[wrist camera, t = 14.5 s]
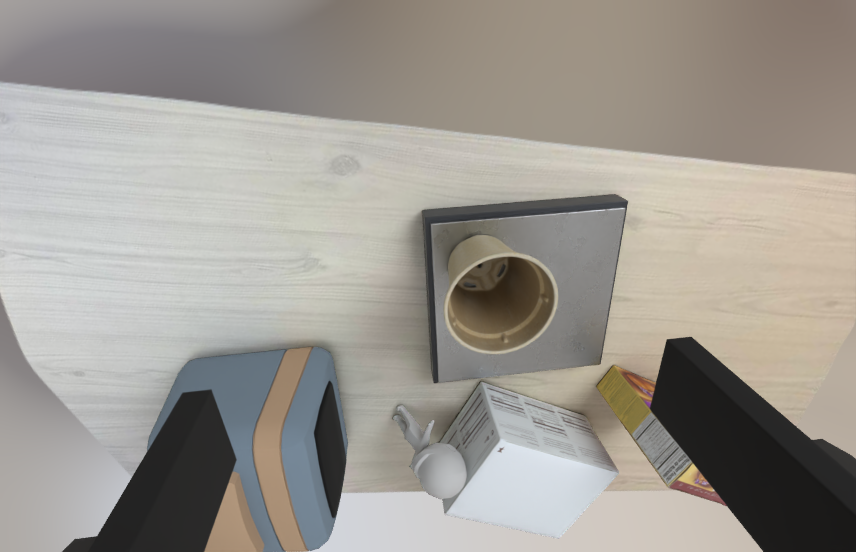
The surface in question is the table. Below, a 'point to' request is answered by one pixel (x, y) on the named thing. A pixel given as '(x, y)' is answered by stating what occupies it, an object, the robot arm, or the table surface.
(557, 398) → the table surface
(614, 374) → the candy box
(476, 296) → the flower pot
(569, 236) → the scale
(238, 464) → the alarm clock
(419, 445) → the figurine
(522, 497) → the supplement box
